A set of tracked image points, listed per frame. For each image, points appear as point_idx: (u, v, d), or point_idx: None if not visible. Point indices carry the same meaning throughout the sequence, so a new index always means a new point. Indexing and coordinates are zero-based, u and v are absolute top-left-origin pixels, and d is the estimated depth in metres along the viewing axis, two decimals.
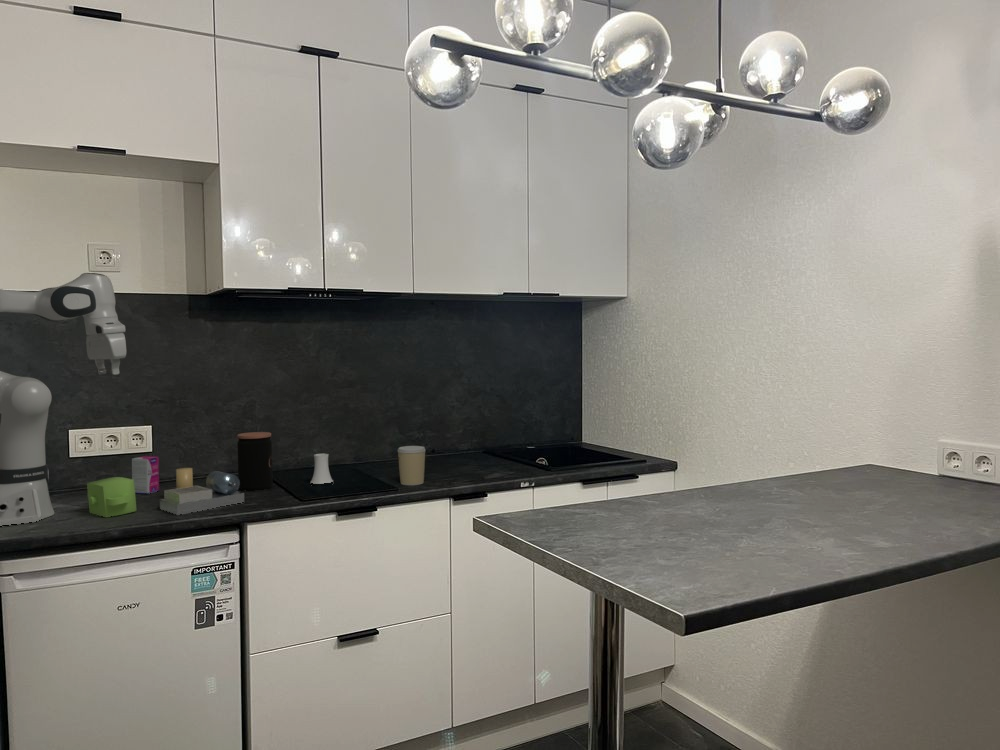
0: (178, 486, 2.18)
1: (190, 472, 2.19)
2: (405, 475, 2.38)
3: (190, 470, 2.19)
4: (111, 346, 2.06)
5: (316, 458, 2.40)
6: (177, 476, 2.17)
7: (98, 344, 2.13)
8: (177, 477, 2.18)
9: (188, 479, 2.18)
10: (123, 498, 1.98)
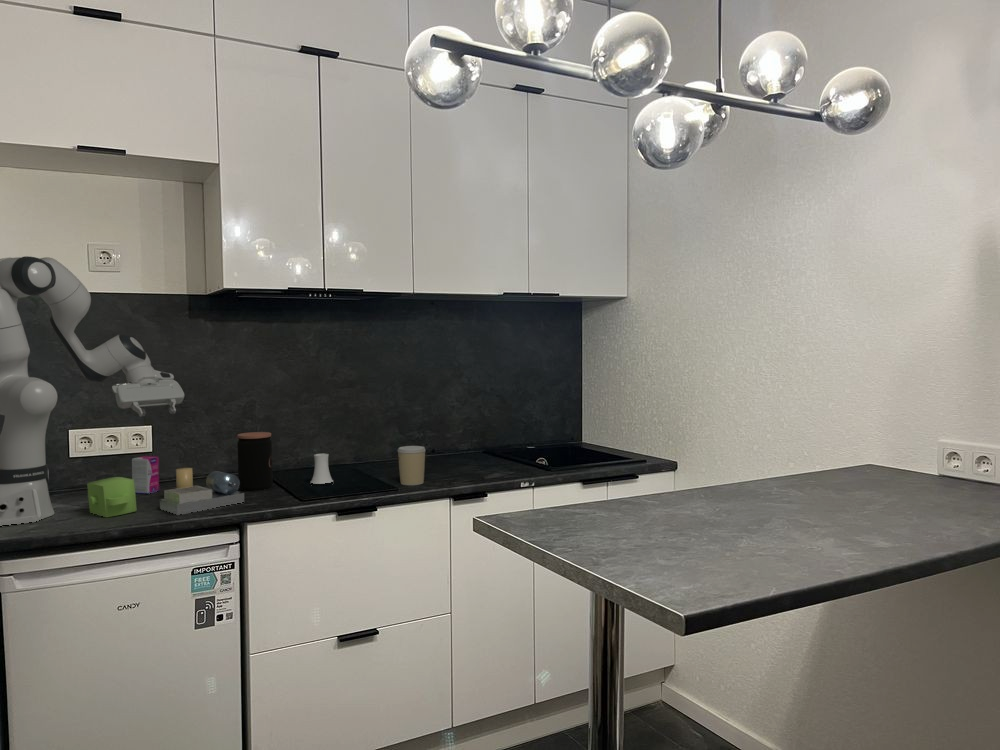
0: (178, 486, 2.18)
1: (190, 472, 2.19)
2: (405, 475, 2.38)
3: (190, 470, 2.19)
4: (181, 388, 2.38)
5: (316, 458, 2.40)
6: (177, 476, 2.17)
7: (148, 389, 2.31)
8: (177, 477, 2.18)
9: (188, 479, 2.18)
10: (123, 498, 1.98)
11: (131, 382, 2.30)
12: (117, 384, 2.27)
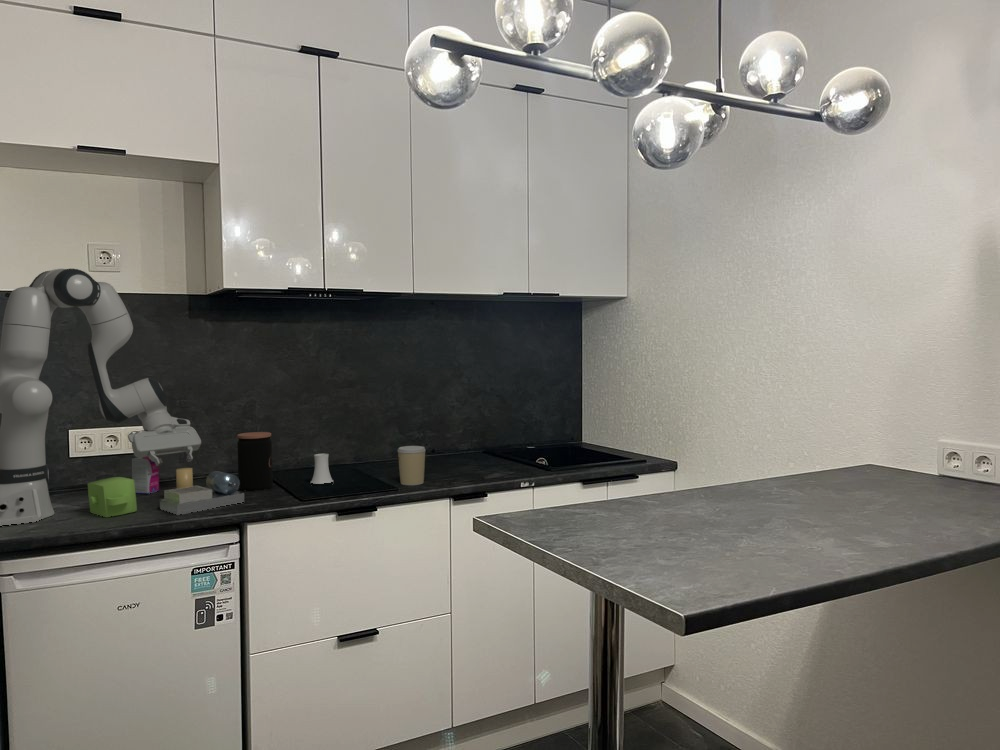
0: (178, 486, 2.18)
1: (190, 472, 2.19)
2: (405, 475, 2.38)
3: (190, 470, 2.19)
4: (197, 434, 2.34)
5: (316, 458, 2.40)
6: (177, 476, 2.17)
7: (164, 437, 2.26)
8: (177, 477, 2.18)
9: (188, 479, 2.18)
10: (123, 498, 1.98)
11: (147, 430, 2.26)
12: (133, 432, 2.23)
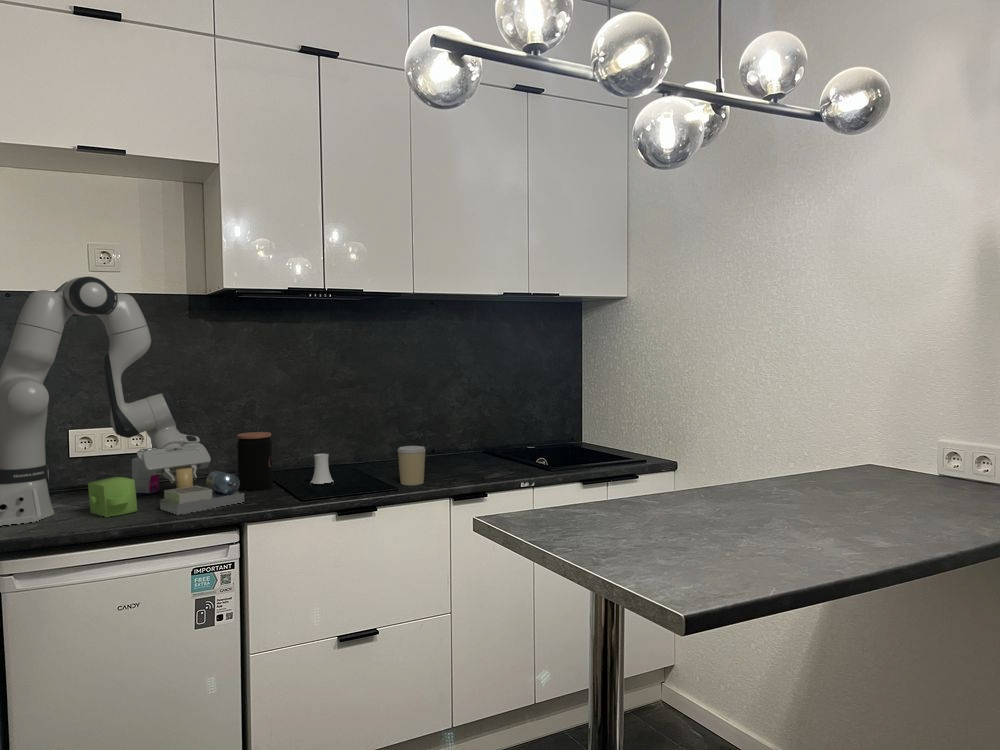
0: (178, 486, 2.18)
1: (190, 472, 2.19)
2: (405, 475, 2.38)
3: (190, 470, 2.19)
4: None
5: (316, 458, 2.40)
6: (177, 476, 2.17)
7: (173, 454, 2.22)
8: (177, 477, 2.18)
9: (188, 479, 2.18)
10: (123, 498, 1.98)
11: (156, 447, 2.22)
12: (142, 450, 2.19)
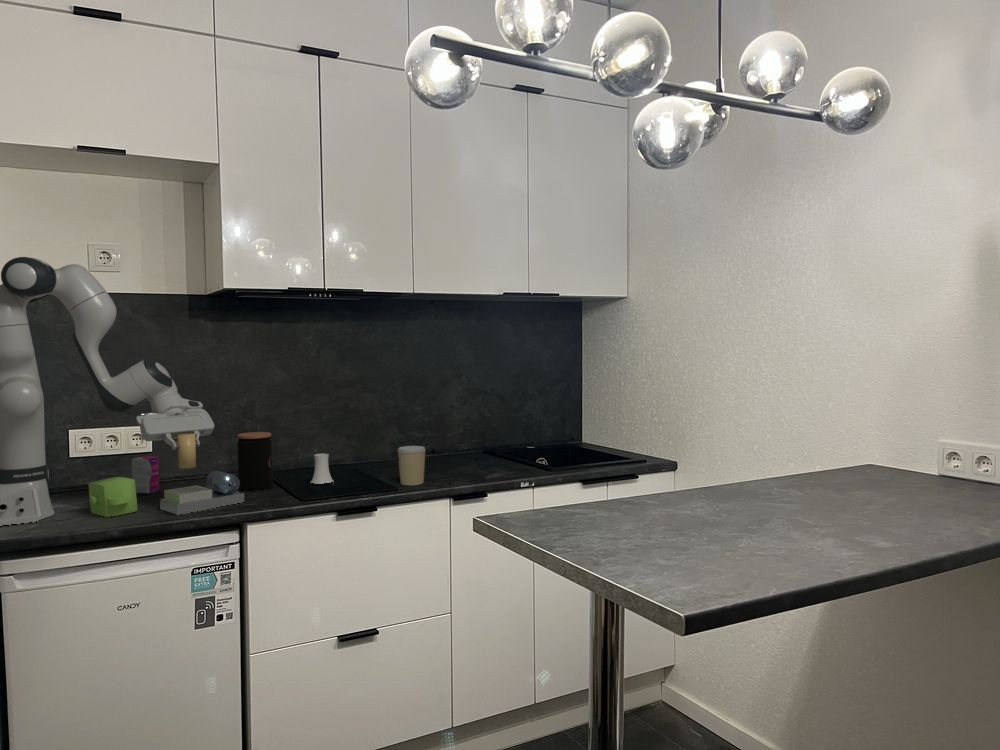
0: (180, 452, 2.05)
1: (193, 438, 2.06)
2: (405, 475, 2.38)
3: (193, 435, 2.06)
4: (210, 418, 2.17)
5: (316, 458, 2.40)
6: (179, 442, 2.05)
7: (175, 420, 2.10)
8: (179, 443, 2.05)
9: (191, 445, 2.06)
10: (124, 498, 1.98)
11: (157, 412, 2.09)
12: (142, 414, 2.06)
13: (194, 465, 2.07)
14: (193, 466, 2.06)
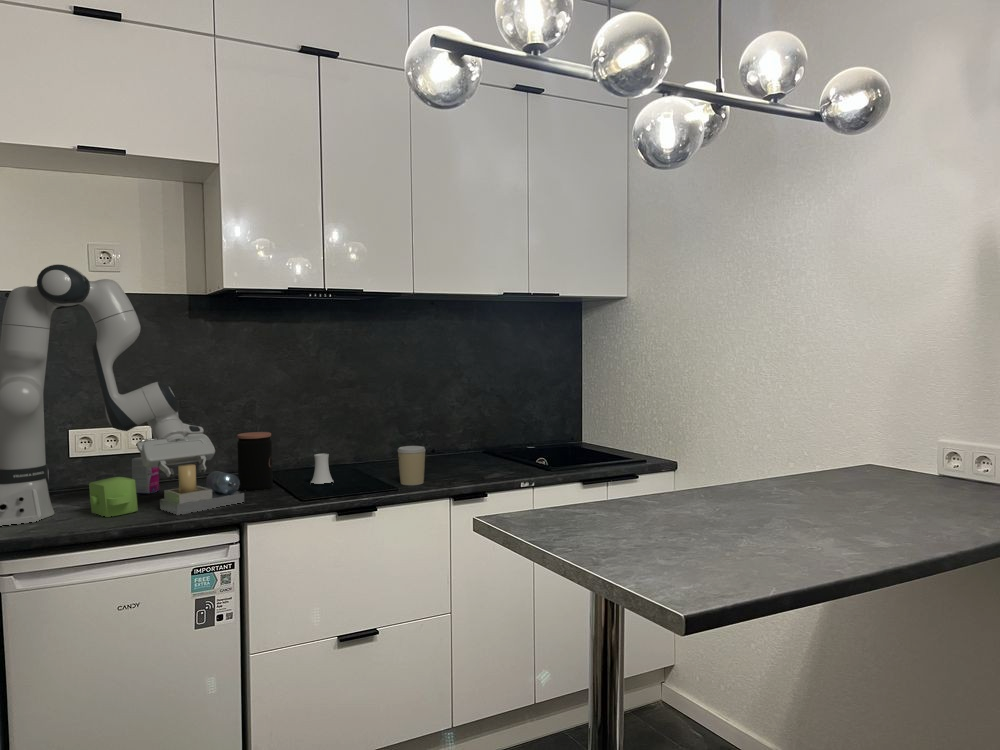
0: (180, 484, 2.05)
1: (193, 469, 2.06)
2: (405, 475, 2.38)
3: (193, 467, 2.06)
4: (211, 443, 2.17)
5: (316, 458, 2.40)
6: (180, 473, 2.05)
7: (176, 445, 2.10)
8: (179, 474, 2.05)
9: (191, 476, 2.05)
10: (124, 498, 1.98)
11: (158, 438, 2.09)
12: (143, 440, 2.06)
13: None
14: None
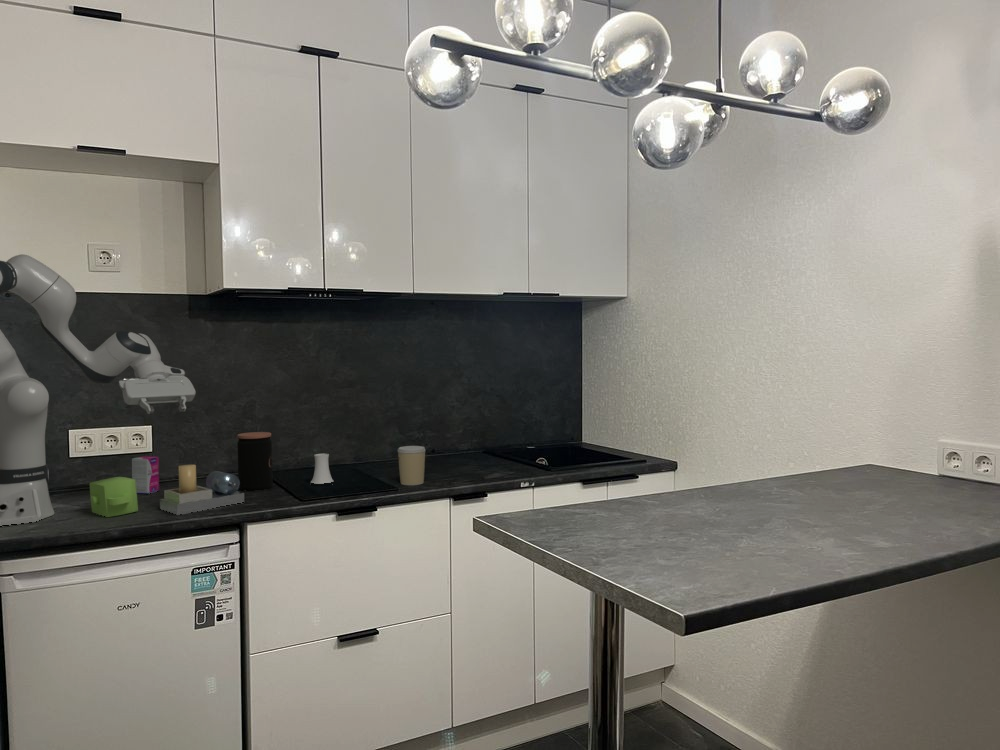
0: (181, 484, 2.05)
1: (193, 469, 2.06)
2: (405, 475, 2.38)
3: (193, 467, 2.06)
4: (192, 385, 2.24)
5: (316, 458, 2.40)
6: (180, 473, 2.05)
7: (157, 385, 2.17)
8: (180, 474, 2.05)
9: (191, 476, 2.06)
10: (124, 498, 1.98)
11: (139, 377, 2.16)
12: (124, 379, 2.13)
13: None
14: None
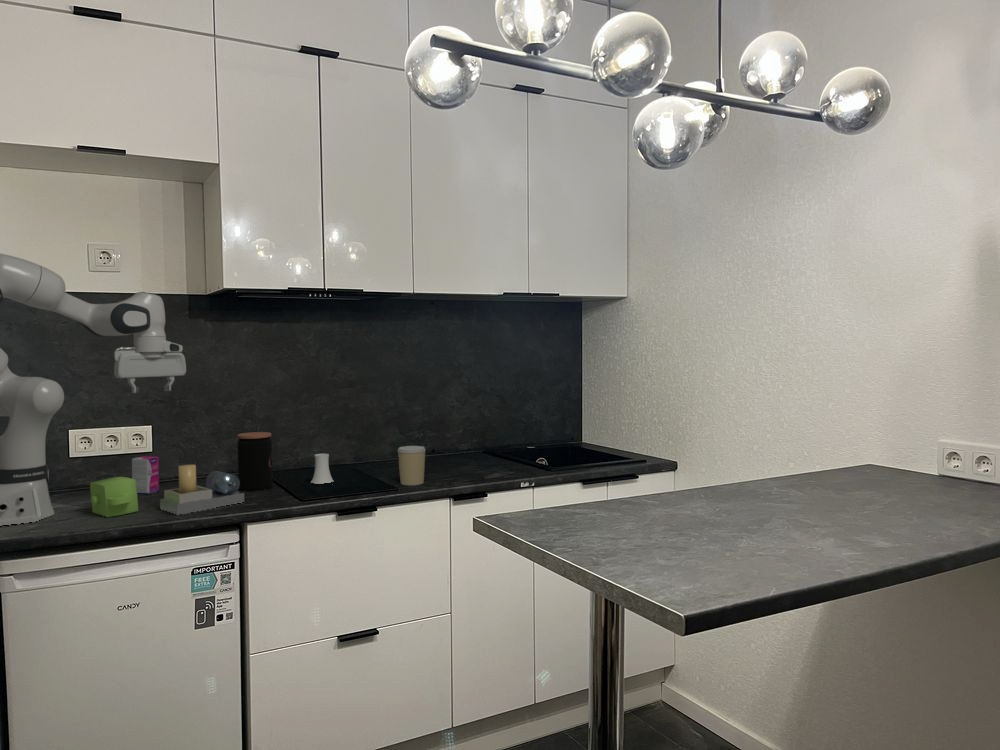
0: (181, 484, 2.05)
1: (193, 469, 2.06)
2: (405, 475, 2.38)
3: (193, 467, 2.06)
4: (185, 363, 2.24)
5: (316, 458, 2.40)
6: (180, 473, 2.05)
7: (150, 362, 2.17)
8: (180, 474, 2.05)
9: (191, 476, 2.06)
10: (124, 498, 1.98)
11: (136, 348, 2.14)
12: (121, 349, 2.11)
13: None
14: None
